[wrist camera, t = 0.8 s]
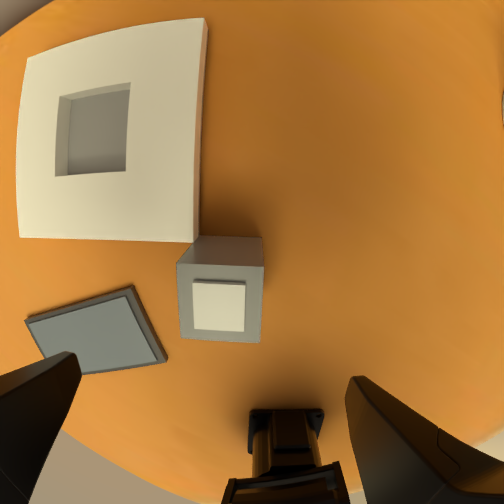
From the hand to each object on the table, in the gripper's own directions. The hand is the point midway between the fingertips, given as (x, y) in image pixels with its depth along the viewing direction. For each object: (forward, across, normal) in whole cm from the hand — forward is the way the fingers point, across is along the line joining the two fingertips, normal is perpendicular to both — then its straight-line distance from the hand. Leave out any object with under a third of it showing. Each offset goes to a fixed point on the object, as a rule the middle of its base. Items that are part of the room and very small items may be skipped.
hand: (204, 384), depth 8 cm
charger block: (+12, 0, 0) cm, 12 cm away
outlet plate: (+12, +9, -9) cm, 17 cm away
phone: (+12, +12, +7) cm, 19 cm away
